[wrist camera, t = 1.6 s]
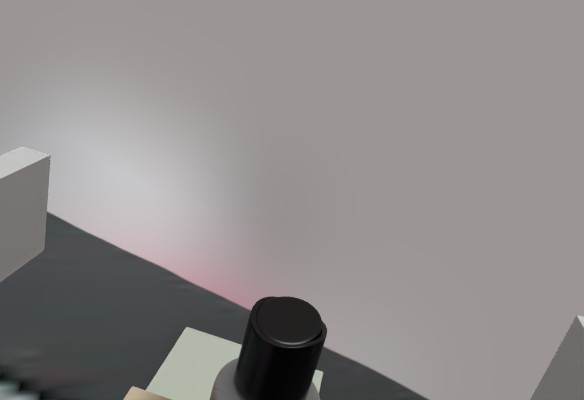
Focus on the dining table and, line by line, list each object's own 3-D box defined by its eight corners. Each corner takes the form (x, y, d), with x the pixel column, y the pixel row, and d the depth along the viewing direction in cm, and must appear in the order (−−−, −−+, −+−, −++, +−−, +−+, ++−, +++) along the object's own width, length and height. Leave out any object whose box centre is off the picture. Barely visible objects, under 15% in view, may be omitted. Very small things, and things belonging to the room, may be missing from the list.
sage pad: (135, 411, 43) (135, 405, 43) (185, 331, 53) (186, 326, 53) (302, 469, 42) (304, 464, 42) (321, 376, 52) (323, 372, 52)
